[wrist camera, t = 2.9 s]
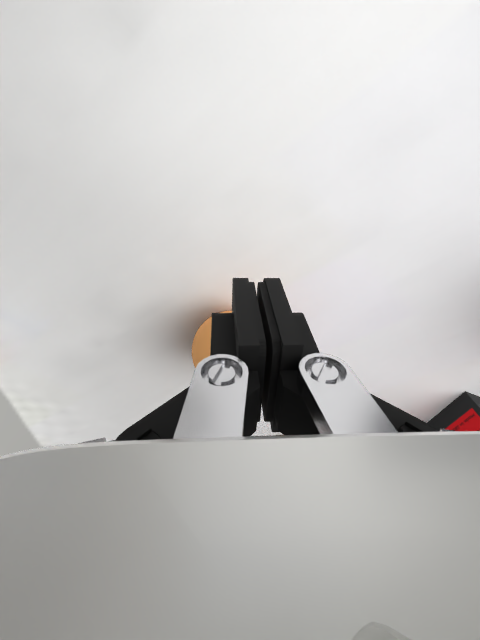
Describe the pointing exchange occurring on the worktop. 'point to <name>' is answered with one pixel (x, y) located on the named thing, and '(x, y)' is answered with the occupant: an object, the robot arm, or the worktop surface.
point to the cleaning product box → (459, 415)
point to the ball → (202, 341)
